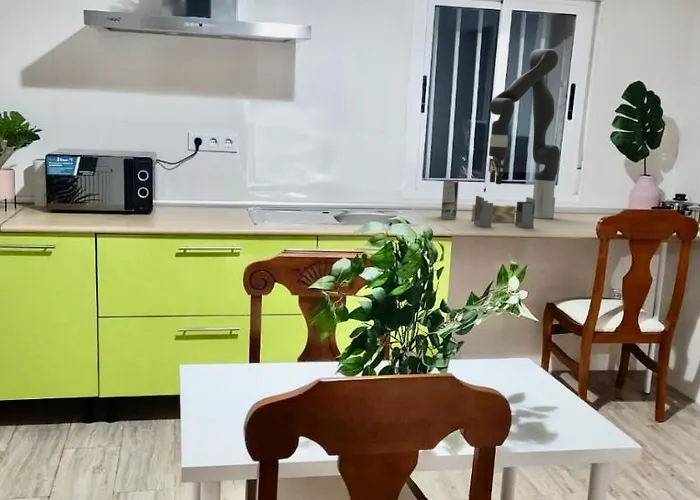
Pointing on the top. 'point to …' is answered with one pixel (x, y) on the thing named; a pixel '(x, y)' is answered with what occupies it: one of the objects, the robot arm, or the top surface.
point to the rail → (500, 213)
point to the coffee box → (449, 199)
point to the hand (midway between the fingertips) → (495, 183)
